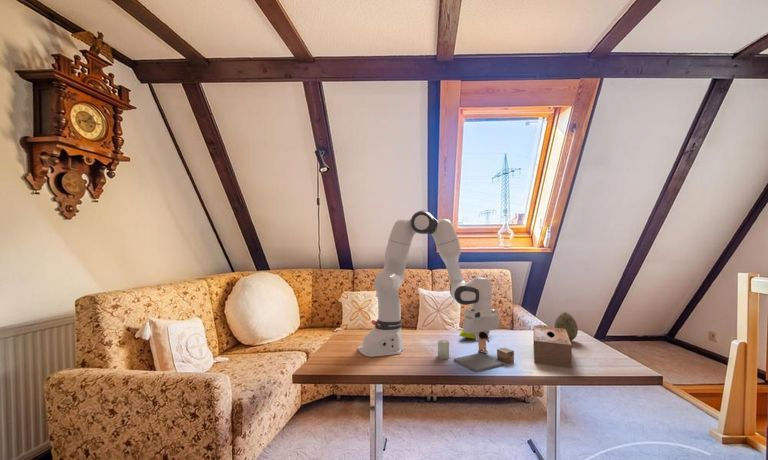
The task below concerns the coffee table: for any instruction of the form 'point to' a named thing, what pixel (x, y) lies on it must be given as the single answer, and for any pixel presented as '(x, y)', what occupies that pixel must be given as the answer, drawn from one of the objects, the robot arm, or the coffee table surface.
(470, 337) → the plumb bob
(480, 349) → the grandmother figurine
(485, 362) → the slate mat
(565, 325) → the decorative egg
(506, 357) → the walnut block
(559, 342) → the tissue box cover
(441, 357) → the sage green capsule
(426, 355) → the coffee table surface
